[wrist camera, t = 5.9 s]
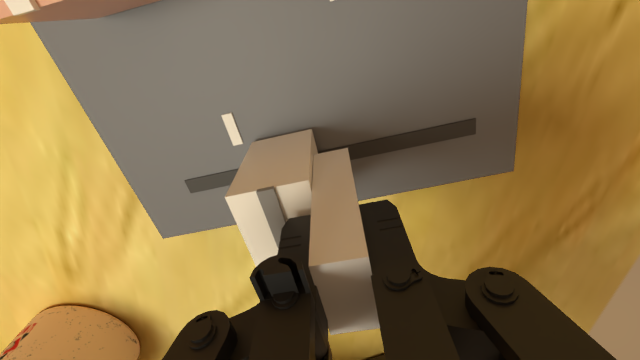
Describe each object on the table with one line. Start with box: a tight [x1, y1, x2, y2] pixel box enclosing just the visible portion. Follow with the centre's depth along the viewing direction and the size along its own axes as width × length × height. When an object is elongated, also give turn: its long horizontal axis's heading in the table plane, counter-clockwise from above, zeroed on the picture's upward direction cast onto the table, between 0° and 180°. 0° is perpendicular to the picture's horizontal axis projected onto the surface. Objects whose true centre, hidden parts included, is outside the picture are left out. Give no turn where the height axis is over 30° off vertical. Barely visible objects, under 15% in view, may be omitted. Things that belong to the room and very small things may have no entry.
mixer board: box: [30, 0, 528, 238], centre depth 14 cm, size 16×20×2 cm
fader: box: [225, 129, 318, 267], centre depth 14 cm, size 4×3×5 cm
